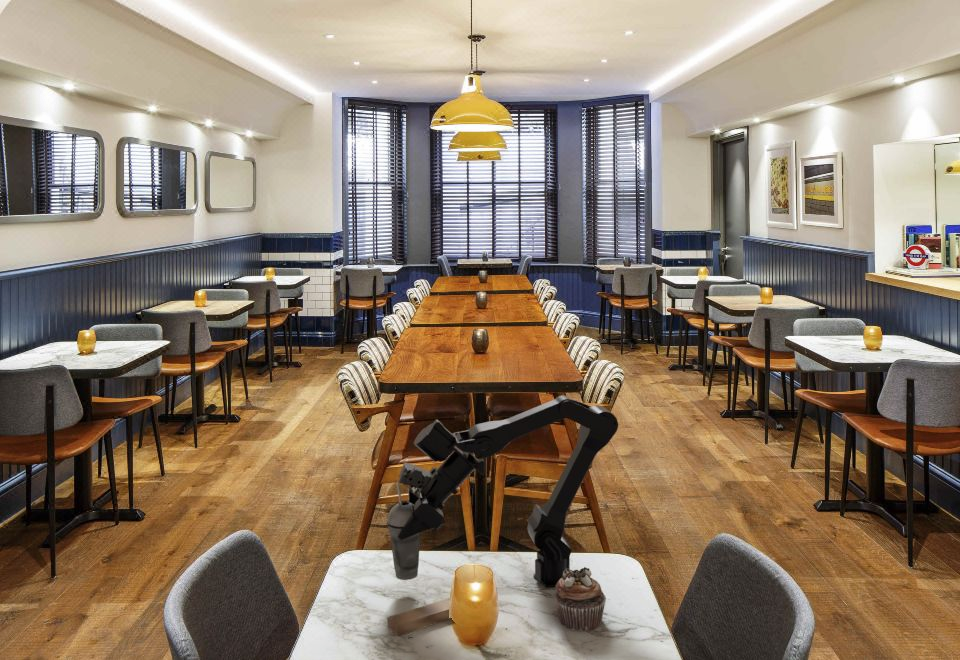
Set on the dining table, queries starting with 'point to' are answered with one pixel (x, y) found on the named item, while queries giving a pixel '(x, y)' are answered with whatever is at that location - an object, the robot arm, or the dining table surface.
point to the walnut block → (419, 617)
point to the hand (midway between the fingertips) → (398, 531)
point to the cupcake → (579, 600)
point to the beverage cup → (403, 541)
